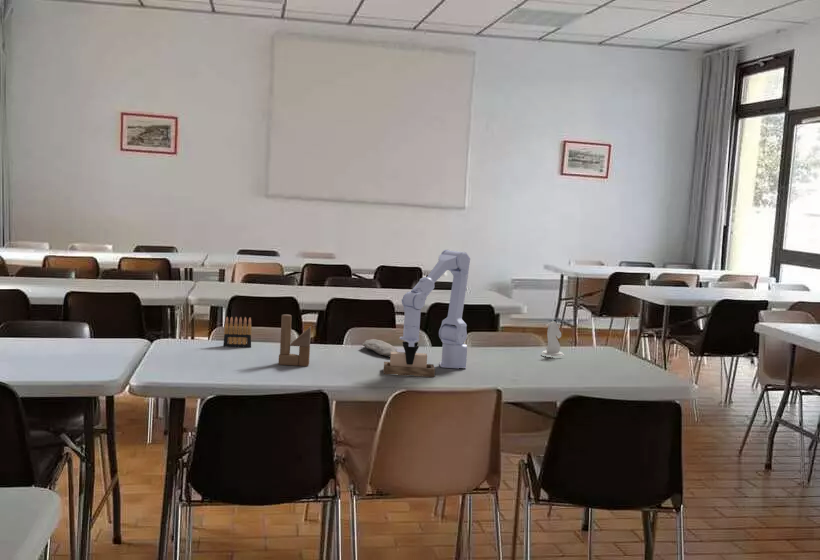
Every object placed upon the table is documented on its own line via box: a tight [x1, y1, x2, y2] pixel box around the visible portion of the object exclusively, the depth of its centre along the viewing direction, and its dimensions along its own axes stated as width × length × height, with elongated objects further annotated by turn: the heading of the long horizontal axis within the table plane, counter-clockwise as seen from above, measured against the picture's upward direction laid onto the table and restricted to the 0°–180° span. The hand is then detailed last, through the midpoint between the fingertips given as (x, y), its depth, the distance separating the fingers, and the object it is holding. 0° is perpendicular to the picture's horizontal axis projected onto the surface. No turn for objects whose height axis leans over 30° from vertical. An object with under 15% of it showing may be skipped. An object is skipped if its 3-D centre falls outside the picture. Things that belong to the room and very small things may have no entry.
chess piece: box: [541, 320, 565, 356], centre depth 340 cm, size 10×10×15 cm
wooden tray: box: [383, 361, 436, 378], centre depth 291 cm, size 18×8×3 cm, turn 92°
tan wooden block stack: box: [277, 313, 312, 367], centre depth 291 cm, size 4×11×18 cm, turn 92°
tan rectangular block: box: [389, 351, 428, 368], centre depth 290 cm, size 13×4×6 cm, turn 92°
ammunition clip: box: [222, 316, 252, 349], centre depth 317 cm, size 11×2×12 cm, turn 100°
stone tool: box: [361, 338, 398, 357], centre depth 324 cm, size 12×5×25 cm
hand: (409, 363), depth 290 cm, fingers closed on tan rectangular block, 4 cm apart
